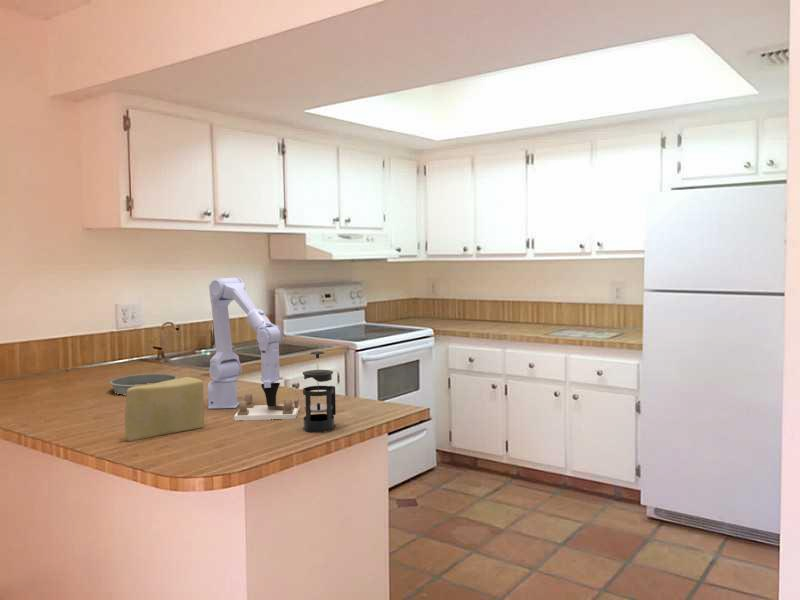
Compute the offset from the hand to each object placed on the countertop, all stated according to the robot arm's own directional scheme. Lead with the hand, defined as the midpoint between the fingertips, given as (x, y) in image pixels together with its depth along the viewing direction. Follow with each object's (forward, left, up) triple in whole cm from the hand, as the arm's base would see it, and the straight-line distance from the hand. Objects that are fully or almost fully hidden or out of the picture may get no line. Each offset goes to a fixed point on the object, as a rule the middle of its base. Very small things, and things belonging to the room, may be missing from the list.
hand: (271, 405), depth 213 cm
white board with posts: (-1, +1, -3) cm, 3 cm away
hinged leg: (+3, +1, -1) cm, 3 cm away
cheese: (-29, -18, -3) cm, 34 cm away
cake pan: (-55, +46, -4) cm, 72 cm away
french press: (+17, -18, -3) cm, 25 cm away
